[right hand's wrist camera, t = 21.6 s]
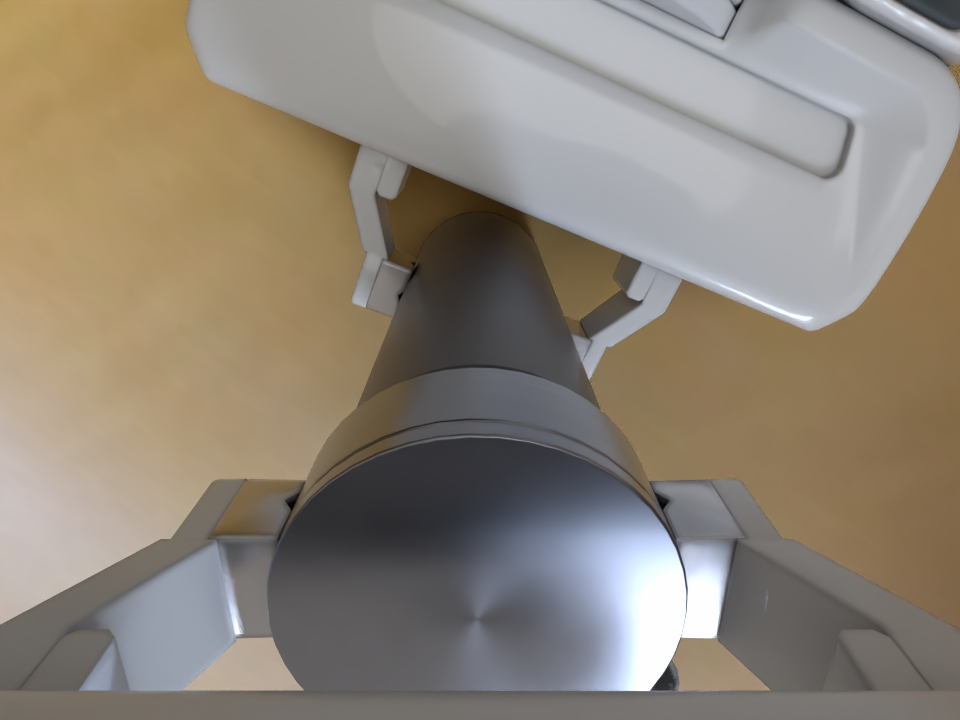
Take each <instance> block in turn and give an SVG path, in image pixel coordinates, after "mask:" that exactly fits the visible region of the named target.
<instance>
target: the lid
mask: <svg viewBox="0 0 960 720" xmlns="http://www.w3.org/2000/svg"><path fill="white" fill-rule="evenodd" d="M687 603H688V586H687V579H686V571H685V566H684V563H683V560H682V557H681V554H680V551H679V547H678V545H677V543H676V540H675V538H674V536H673V534H672V532H671V530H670V527H669V525H668V523H667V520H666V518H665V516H664V514H663V511H662V509H661V507H660V505H659V503H658V500H657V498H656V496H655V494H654V491H653V489H652V487H651V485H650V483H649V480H648V478H647V476H646V474H645V471H644V469H643V467H642V465H641V463H640V461H639V459H638V457H637V455H636V453H635V451H634V449H633V447H632V445H631V444H630V443H629V441H628V440H627V438H626V437H625V436H624V434H623V433H622V431H621V430H620V429H619V428H618V427H617V426H616V425H615V424H614V423H613V422H612V421H611V420H610V419H609V417H608V416H607V415H606V414H605V413H603V412H602V411H601V410H599V409H598V408H597V407H596V406H594V405H593V404H592V403H590V402H589V401H588V400H587V399H585V398H583V397H581V396H580V395H578V394H576V393H574V392H573V391H571V390H569V389H568V388H566V387H563V386H561V385H558V384H556V383H554V382H551V381H549V380H546V379H544V378H540V377H537V376H533V375H529V374H526V373H522V372H517V371H510V370H504V369H497V368H461V369H450V370H443V371H439V372H434V373H429V374H425V375H421V376H418V377H415V378H412V379H409V380H406V381H404V382H401V383H398V384H396V385H394V386H392V387H390V388H388V389H386V390H384V391H382V392H380V393H378V394H376V395H375V396H373V397H372V398H370V399H369V400H368V401H366V402H365V403H363V404H362V405H360V406H359V407H357V408H356V409H355V410H354V411H353V412H352V413H351V414H350V415H349V416H347V417H346V418H345V419H344V420H343V421H342V422H341V423H340V424H339V426H338V427H337V428H336V429H335V430H334V432H333V433H332V434H331V435H330V436H329V438H328V439H327V441H326V442H325V444H324V446H323V447H322V449H321V451H320V452H319V454H318V456H317V458H316V460H315V462H314V464H313V467H312V469H311V471H310V473H309V475H308V478H307V480H306V482H305V484H304V486H303V488H302V491H301V493H300V495H299V497H298V499H297V502H296V504H295V506H294V508H293V510H292V513H291V515H290V517H289V519H288V522H287V524H286V526H285V528H284V530H283V532H282V534H281V537H280V539H279V541H278V544H277V546H276V549H275V551H274V554H273V556H272V559H271V564H270V569H269V573H268V578H267V595H266V604H267V611H268V619H269V625H270V629H271V632H272V635H273V638H274V642H275V645H276V647H277V649H278V651H279V653H280V655H281V657H282V659H283V661H284V663H285V665H286V666H287V668H288V669H289V671H290V672H291V674H292V675H293V677H294V678H295V680H296V681H297V682H298V684H299V685H300V686H301V687H302V688H303V689H304V690H305V691H650V690H651V689H652V687H653V686H654V685H655V684H656V682H657V681H658V680H659V678H660V677H661V676H662V674H663V673H664V672H665V670H666V668H667V667H668V665H669V663H670V661H671V660H672V658H673V656H674V654H675V652H676V650H677V647H678V644H679V642H680V639H681V637H682V634H683V630H684V625H685V620H686V615H687Z"/></svg>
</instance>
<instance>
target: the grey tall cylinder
mask: <svg viewBox="0 0 960 720" xmlns="http://www.w3.org/2000/svg"><path fill="white" fill-rule="evenodd" d="M461 368H497V369H504V370H510V371H517V372H522V373H526V374H529V375H533V376H537V377H540V378H544V379H546V380H549V381H551V382H554V383H556V384H558V385H561V386H563V387H566V388H568V389H569V390H571V391H573V392H574V393H576V394H578V395H580V396H581V397H583V398H585V399H587V400H588V401H589V402H590V403H592V404H593V405H594V406H596V407H597V408H598V409H599V410H600V407H599V404H598V402H597V399H596V397H595V394H594V392H593V389H592V387H591V384H590V381H589V379H588V376H587V374H586V371H585V369H584V366H583V363H582V361H581V358H580V356H579V353H578V351H577V348H576V346H575V343H574V340H573V338H572V335H571V333H570V330H569V328H568V325H567V323H566V320H565V317H564V315H563V312H562V310H561V307H560V305H559V302H558V300H557V297H556V294H555V292H554V289H553V287H552V284H551V282H550V279H549V276H548V274H547V271H546V269H545V266H544V264H543V261H542V259H541V256H540V253H539V251H538V249H537V247H536V245H535V243H534V241H533V240H532V239H531V237H530V236H529V235H528V234H527V232H526V231H525V230H524V229H523V228H521V227H520V226H519V225H518V224H516V223H515V222H513V221H511V220H510V219H508V218H505V217H503V216H501V215H497V214H494V213H487V212H471V213H465V214H461V215H458V216H455V217H453V218H451V219H449V220H447V221H445V222H444V223H442V224H441V225H440V226H438V227H437V228H436V229H435V230H434V231H433V232H432V233H431V234H430V235H429V236H428V238H427V239H426V240H425V242H424V244H423V246H422V247H421V250H420V252H419V255H418V257H417V261H416V264H415V267H414V269H413V272H412V275H411V277H410V280H409V282H408V285H407V286H406V288H405V290H404V292H403V294H402V297H401V299H400V302H399V304H398V307H397V309H396V312H395V314H394V317H393V319H392V322H391V324H390V327H389V329H388V332H387V334H386V336H385V339H384V341H383V344H382V346H381V349H380V351H379V354H378V356H377V359H376V361H375V364H374V366H373V369H372V371H371V374H370V376H369V379H368V381H367V384H366V386H365V388H364V391H363V393H362V396H361V398H360V401H359V403H358V406H357V407H359V406H360V405H362V404H363V403H365V402H366V401H368V400H369V399H370V398H372V397H373V396H375V395H376V394H378V393H380V392H382V391H384V390H386V389H388V388H390V387H392V386H394V385H396V384H398V383H401V382H404V381H406V380H409V379H412V378H415V377H418V376H421V375H425V374H429V373H434V372H439V371H443V370H450V369H461Z"/></svg>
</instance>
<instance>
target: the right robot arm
mask: <svg viewBox="0 0 960 720" xmlns="http://www.w3.org/2000/svg"><path fill="white" fill-rule="evenodd" d="M305 482H306V480H266V479H249V480H247V479H218V480H215V481H213V482H212V483H211V484H210V486H209V487H208V489H207V490H206V491H205V493H204V494H203V495H202V497H201V498H200V500H199V501H198V502H197V504H196V505H195V506H194V508H193V509H192V511H191V512H190V513H189V515H188V516H187V517H186V519H185V520H184V522H183V523H182V524H181V526H180V527H179V528H178V530H177V531H176V533H175V534H174V535H173V537H172V538H171V539H161V540H159V541H157V542H155V543H153V544H151V545H149V546H147V547H146V548H144V549H142V550H140V551H138V552H136V553H134V554H132V555H131V556H129V557H127V558H125V559H123V560H121V561H119V562H117V563H116V564H114V565H112V566H110V567H108V568H106V569H104V570H102V571H101V572H99V573H97V574H95V575H93V576H91V577H89V578H87V579H86V580H84V581H82V582H80V583H78V584H76V585H74V586H72V587H71V588H69V589H67V590H65V591H63V592H61V593H59V594H57V595H55V596H54V597H52V598H50V599H48V600H46V601H44V602H42V603H40V604H39V605H37V606H35V607H33V608H31V609H29V610H27V611H25V612H24V613H22V614H20V615H18V616H16V617H14V618H12V619H10V620H9V621H7V622H5V623H3V624H1V625H0V720H960V631H959V630H958V629H957V628H956V627H954V626H953V625H951V624H949V623H947V622H945V621H943V620H941V619H940V618H938V617H936V616H934V615H932V614H930V613H928V612H927V611H925V610H923V609H921V608H919V607H917V606H915V605H914V604H912V603H910V602H908V601H906V600H904V599H902V598H901V597H899V596H897V595H895V594H893V593H891V592H890V591H888V590H886V589H884V588H882V587H880V586H878V585H877V584H875V583H873V582H871V581H869V580H867V579H865V578H864V577H862V576H860V575H858V574H856V573H854V572H852V571H851V570H849V569H847V568H845V567H843V566H841V565H839V564H838V563H836V562H834V561H832V560H830V559H828V558H826V557H825V556H823V555H821V554H819V553H817V552H815V551H813V550H812V549H810V548H808V547H806V546H804V545H802V544H800V543H799V542H797V541H795V540H793V539H783V538H782V537H781V536H780V534H779V533H778V531H777V530H776V529H775V527H774V526H773V525H772V523H771V522H770V520H769V519H768V518H767V516H766V515H765V513H764V512H763V511H762V509H761V508H760V506H759V505H758V504H757V502H756V501H755V500H754V498H753V497H752V495H751V494H750V493H749V491H748V490H747V488H746V487H745V486H744V484H743V483H742V482H741V481H740V480H738V479H710V480H681V481H649V483H650V485H651V487H652V489H653V491H654V494H655V496H656V498H657V500H658V503H659V505H660V507H661V509H662V511H663V514H664V516H665V518H666V520H667V523H668V525H669V527H670V530H671V532H672V534H673V536H674V538H675V540H676V543H677V545H678V547H679V551H680V554H681V557H682V560H683V563H684V566H685V571H686V579H687V586H688V603H687V615H686V620H685V625H684V630H683V634H682V637H691V638H719V639H718V641H719V642H720V643H721V644H722V645H723V646H724V647H725V648H726V649H727V650H729V651H730V652H731V653H732V654H733V655H734V656H735V657H736V658H737V659H738V660H739V661H740V662H741V663H743V664H744V665H745V666H746V667H747V668H748V669H749V670H750V671H751V672H752V673H753V674H754V675H755V676H757V677H758V678H759V679H760V680H761V681H762V682H763V683H764V684H765V685H766V686H767V687H768V688H769V689H771V690H772V691H182V690H183V689H184V688H186V687H187V686H188V685H189V684H190V683H191V682H192V681H193V680H194V679H195V678H196V677H198V676H199V675H200V674H201V673H202V672H203V671H204V670H205V669H206V668H207V667H208V666H209V665H211V664H212V663H213V662H214V661H215V660H216V659H217V658H218V657H219V656H220V655H221V654H223V653H224V652H225V651H226V650H227V649H228V648H229V647H230V646H231V645H232V644H233V643H235V642H236V639H235V638H262V637H273V635H272V632H271V629H270V625H269V619H268V611H267V604H266V595H267V578H268V573H269V569H270V564H271V559H272V556H273V554H274V551H275V549H276V546H277V544H278V541H279V539H280V537H281V534H282V532H283V530H284V528H285V526H286V524H287V522H288V519H289V517H290V515H291V513H292V510H293V508H294V506H295V504H296V502H297V499H298V497H299V495H300V493H301V491H302V488H303V486H304V484H305Z"/></svg>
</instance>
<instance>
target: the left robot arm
mask: <svg viewBox="0 0 960 720" xmlns="http://www.w3.org/2000/svg"><path fill="white" fill-rule="evenodd" d="M186 31H187V35H188V38H189V40H190V43H191V45H192V48H193V50H194V53H195V55H196V58H197V60H198V63H199V65H200V67H201V69H202V71H203V73H204V75H205V76H206V77H207V78H208V79H209V80H210V81H212V82H213V83H216V84H218V85H220V86H222V87H225V88H227V89H229V90H232V91H234V92H237V93H239V94H241V95H244V96H246V97H249V98H251V99H253V100H256V101H258V102H261V103H263V104H265V105H268V106H270V107H273V108H275V109H277V110H280V111H282V112H284V113H287V114H289V115H292V116H294V117H296V118H299V119H301V120H304V121H306V122H308V123H311V124H313V125H316V126H318V127H320V128H323V129H325V130H328V131H330V132H332V133H335V134H337V135H339V136H342V137H344V138H347V139H349V140H351V141H354V142H356V143H359V144H361V145H360V148H359V151H358V155H357V158H356V161H355V164H354V167H353V170H352V173H351V177H350V180H349V183H348V185H349V189H350V194H351V198H352V203H353V207H354V212H355V217H356V221H357V226H358V230H359V235H360V239H361V244H362V248H363V251H365V252H367V253H366V256H365V259H364V262H363V265H362V268H361V271H360V274H359V277H358V280H357V283H356V286H355V289H354V292H353V295H352V299H351V302H352V303H354V304H356V305H358V306H361V307H363V308H367V309H370V310H373V311H376V312H378V313H381V314H384V315H387V316H389V317H392V318H393V317H394V314H395V312H396V309H397V307H398V304H399V302H400V299H401V297H402V294H403V292H404V290H405V288H406V286H407V285H408V282H409V280H410V277H411V275H412V272H413V269H414V267H415V264H416V261H417V258H416V257H414V256H411V255H409V254H407V253H404V252H402V251H399V250H397V249H395V245H394V239H393V233H392V227H391V222H390V216H389V210H388V204H387V199H389V200H392V199H394V198H396V197H397V196H398V195H399V194H400V193H401V192H402V191H403V190H404V187H405V185H406V182H407V179H408V176H409V174H410V171H411V168H412V166H414V167H416V168H418V169H421V170H423V171H426V172H428V173H430V174H433V175H435V176H437V177H440V178H442V179H445V180H447V181H449V182H452V183H454V184H457V185H459V186H461V187H464V188H466V189H469V190H471V191H473V192H476V193H478V194H481V195H483V196H485V197H488V198H490V199H492V200H495V201H497V202H500V203H502V204H504V205H507V206H509V207H512V208H514V209H516V210H519V211H521V212H524V213H526V214H528V215H531V216H533V217H536V218H538V219H540V220H543V221H545V222H547V223H550V224H552V225H555V226H557V227H559V228H562V229H564V230H567V231H569V232H571V233H574V234H576V235H579V236H581V237H583V238H586V239H588V240H591V241H593V242H595V243H598V244H600V245H602V246H605V247H607V248H610V249H612V250H614V251H617V252H619V253H622V254H623V255H622V257H621V259H620V261H619V263H618V265H617V267H616V269H615V272H614V274H613V278H614V280H615V281H616V283H617V284H618V285H619V286H620V288H621V289H622V290H620V291H619V292H618V293H616V294H615V295H614V296H612V297H611V298H610V299H608V300H607V301H606V302H604V303H603V304H601V305H600V306H599V307H597V308H596V309H595V310H593V311H592V312H591V313H589V314H588V315H587V316H585V317H584V318H583V319H581V320H580V322H579V321H576V320H574V319H571V318H568V317H565V316H564V317H565V320H566V323H567V325H568V328H569V330H570V333H571V335H572V338H573V340H574V343H575V346H576V348H577V351H578V353H579V356H580V358H581V361H582V363H583V366H584V369H585V371H586V374H587V376H588V379H589V380H590V378H591V376H592V374H593V372H594V370H595V368H596V366H597V364H598V362H599V360H600V358H601V357H602V355H603V353H604V351H605V349H606V347H610V348H611V347H612V346H614V345H615V344H617V343H618V342H620V341H621V340H623V339H625V338H626V337H628V336H629V335H631V334H632V333H634V332H635V331H637V330H639V329H640V328H642V327H643V326H645V325H646V324H648V323H649V322H651V321H652V320H654V319H656V318H657V317H659V316H660V315H662V314H663V313H664V312H665V311H666V309H667V307H668V305H669V303H670V301H671V300H672V298H673V296H674V294H675V292H676V291H677V289H678V287H679V285H680V283H681V281H682V280H683V279H684V280H686V281H689V282H691V283H693V284H696V285H698V286H701V287H703V288H705V289H708V290H710V291H712V292H715V293H717V294H720V295H722V296H724V297H727V298H729V299H732V300H734V301H736V302H739V303H741V304H744V305H746V306H748V307H751V308H753V309H756V310H758V311H760V312H763V313H765V314H767V315H770V316H772V317H775V318H777V319H779V320H782V321H784V322H787V323H789V324H791V325H794V326H796V327H799V328H801V329H804V330H806V331H815V330H818V329H820V328H823V327H825V326H827V325H829V324H831V323H833V322H836V321H838V320H840V319H841V318H843V317H845V316H847V315H849V314H851V313H852V312H854V311H855V310H856V309H857V308H858V307H859V306H860V305H861V304H862V303H863V302H864V301H865V299H866V298H867V297H868V295H869V294H870V293H871V291H872V290H873V288H874V287H875V286H876V284H877V283H878V281H879V280H880V278H881V277H882V275H883V274H884V272H885V271H886V269H887V268H888V266H889V264H890V263H891V261H892V260H893V258H894V257H895V255H896V253H897V252H898V250H899V249H900V247H901V245H902V244H903V242H904V240H905V239H906V237H907V235H908V234H909V232H910V230H911V229H912V227H913V225H914V224H915V222H916V220H917V218H918V217H919V215H920V213H921V212H922V210H923V208H924V206H925V205H926V203H927V201H928V199H929V197H930V195H931V193H932V192H933V190H934V188H935V186H936V184H937V182H938V180H939V178H940V177H941V175H942V173H943V171H944V169H945V167H946V165H947V163H948V160H949V158H950V156H951V154H952V151H953V148H954V146H955V143H956V140H957V137H958V133H959V130H960V88H959V85H958V82H957V80H956V78H955V76H954V75H953V73H952V72H951V70H950V69H949V68H948V66H953V65H958V64H960V0H190V1H189V5H188V10H187V15H186Z"/></svg>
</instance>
